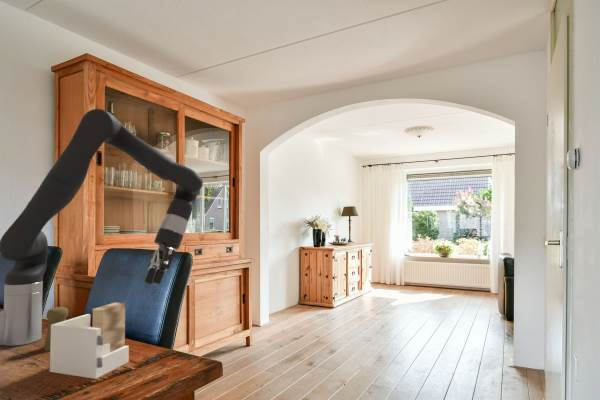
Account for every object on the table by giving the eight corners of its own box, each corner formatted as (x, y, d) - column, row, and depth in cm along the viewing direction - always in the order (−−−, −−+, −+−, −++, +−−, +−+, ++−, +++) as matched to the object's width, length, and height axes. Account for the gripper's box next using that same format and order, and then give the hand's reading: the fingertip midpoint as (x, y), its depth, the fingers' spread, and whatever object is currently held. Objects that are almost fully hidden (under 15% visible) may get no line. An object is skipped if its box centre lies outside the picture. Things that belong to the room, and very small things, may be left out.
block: (114, 344, 108) (115, 302, 109) (124, 345, 107) (125, 303, 108) (91, 354, 101) (92, 309, 101) (102, 355, 100) (103, 309, 100)
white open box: (86, 356, 99) (86, 314, 100) (132, 362, 95) (132, 318, 95) (49, 371, 89) (50, 324, 90) (99, 379, 85) (100, 330, 85)
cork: (57, 351, 103) (58, 310, 103) (38, 349, 104) (39, 309, 104) (74, 344, 109) (75, 305, 109) (56, 342, 110) (57, 304, 110)
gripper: (153, 229, 120) (133, 279, 114) (167, 224, 108) (145, 279, 102) (175, 238, 123) (157, 286, 117) (191, 233, 112) (171, 287, 106)
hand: (151, 283), depth 110 cm, fingers open, 8 cm apart
